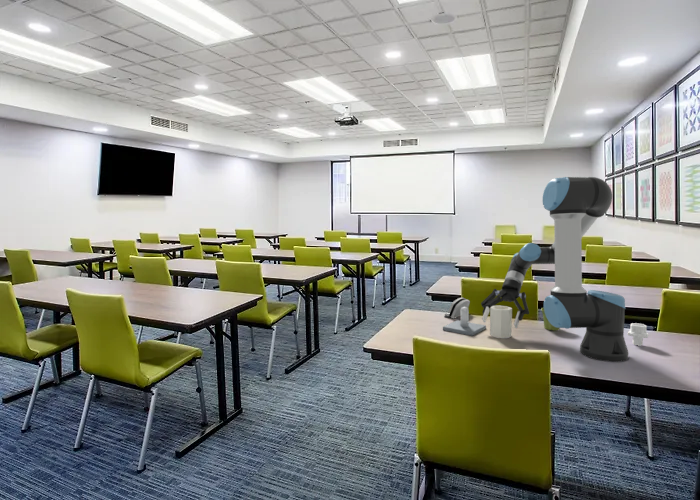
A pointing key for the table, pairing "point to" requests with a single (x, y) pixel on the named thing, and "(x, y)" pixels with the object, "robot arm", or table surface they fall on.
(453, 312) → the grey curved piece
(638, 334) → the white figurine planter
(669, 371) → the table surface
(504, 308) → the white faceted cup
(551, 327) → the plant pot
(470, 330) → the post base
